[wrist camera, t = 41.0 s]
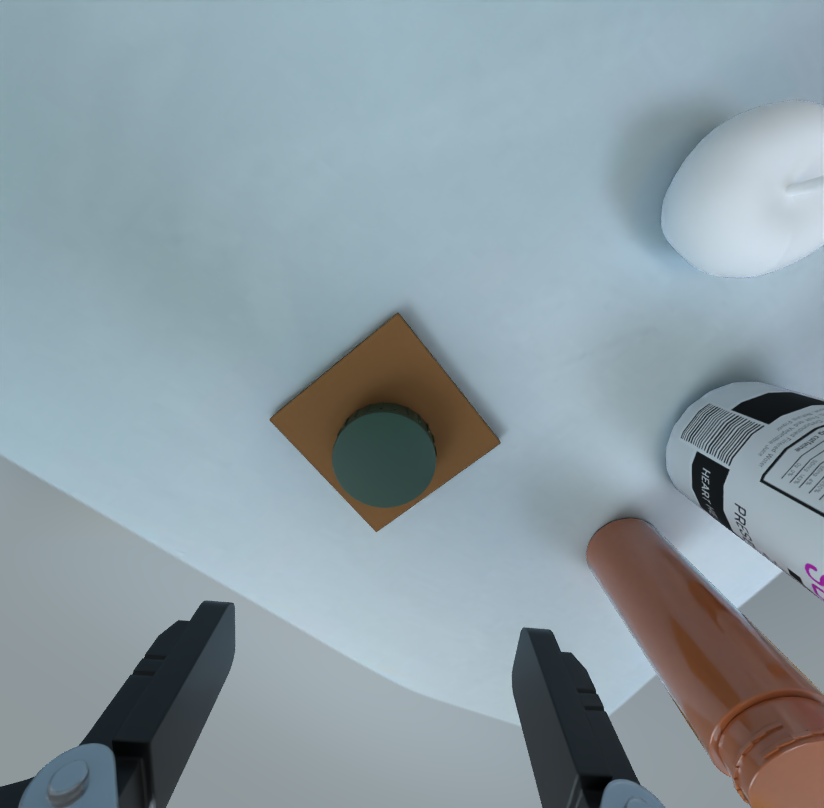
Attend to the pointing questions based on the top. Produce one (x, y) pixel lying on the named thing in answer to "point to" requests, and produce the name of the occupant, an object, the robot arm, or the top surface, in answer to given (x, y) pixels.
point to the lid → (384, 455)
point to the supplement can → (758, 471)
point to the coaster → (390, 383)
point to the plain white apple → (751, 192)
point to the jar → (716, 668)
